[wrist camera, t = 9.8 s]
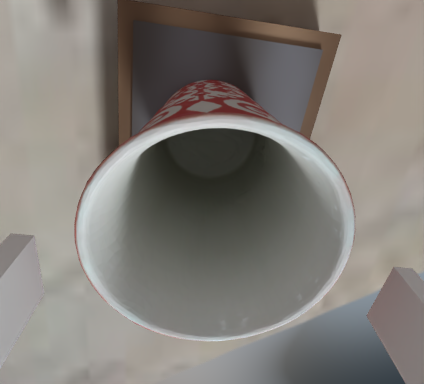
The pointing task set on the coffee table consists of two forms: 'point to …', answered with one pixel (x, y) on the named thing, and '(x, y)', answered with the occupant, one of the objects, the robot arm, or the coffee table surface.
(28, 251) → the robot arm
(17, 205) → the coffee table surface
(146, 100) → the stand
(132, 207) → the mug
